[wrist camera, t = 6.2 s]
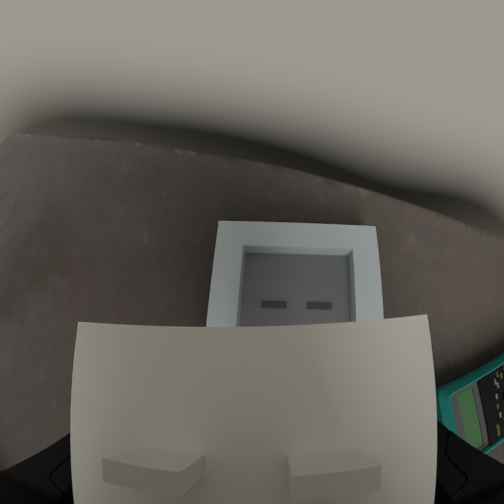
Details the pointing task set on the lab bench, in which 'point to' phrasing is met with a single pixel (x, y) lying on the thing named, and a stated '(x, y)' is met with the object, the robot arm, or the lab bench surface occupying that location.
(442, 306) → the lab bench surface
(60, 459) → the robot arm
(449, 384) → the digital multimeter
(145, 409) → the adapter
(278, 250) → the outlet plate
